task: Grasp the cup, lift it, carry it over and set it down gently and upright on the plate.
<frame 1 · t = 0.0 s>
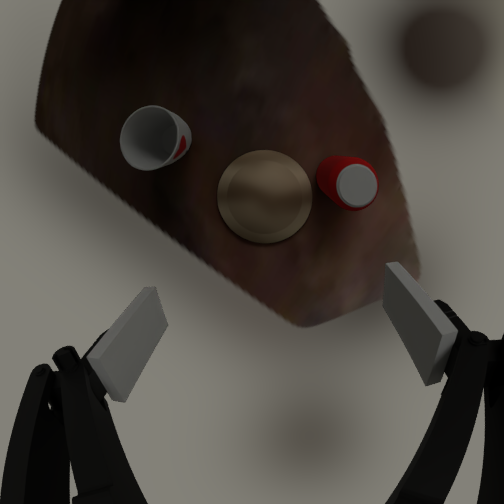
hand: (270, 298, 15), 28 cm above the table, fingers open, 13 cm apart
beverage can: (335, 176, 39), on the table
cup: (176, 139, 39), on the table
plate: (264, 196, 41), on the table
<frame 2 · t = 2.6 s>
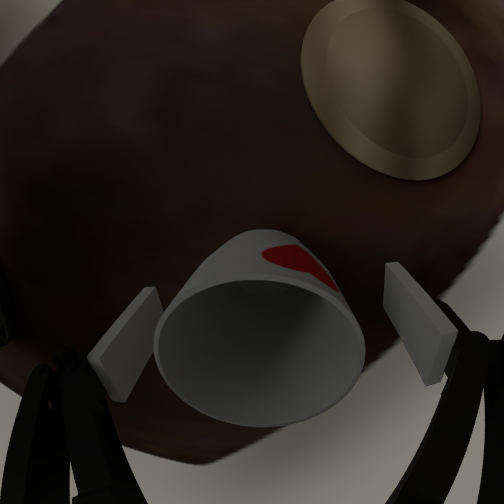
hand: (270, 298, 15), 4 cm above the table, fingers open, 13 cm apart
cup: (265, 264, 19), on the table
plate: (401, 79, 14), on the table
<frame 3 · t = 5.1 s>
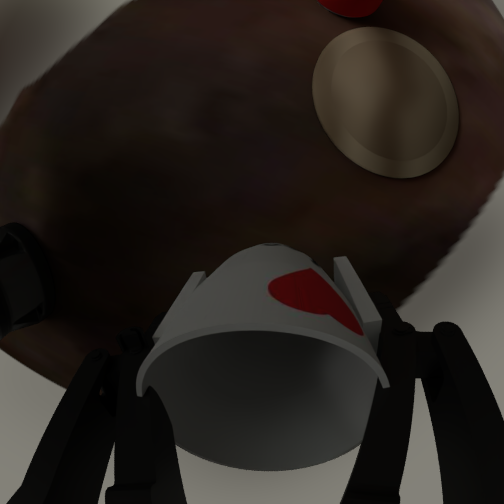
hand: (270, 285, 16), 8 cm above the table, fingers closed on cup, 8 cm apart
cup: (271, 281, 17), point 8 cm above the table, touching gripper
plate: (391, 99, 19), on the table
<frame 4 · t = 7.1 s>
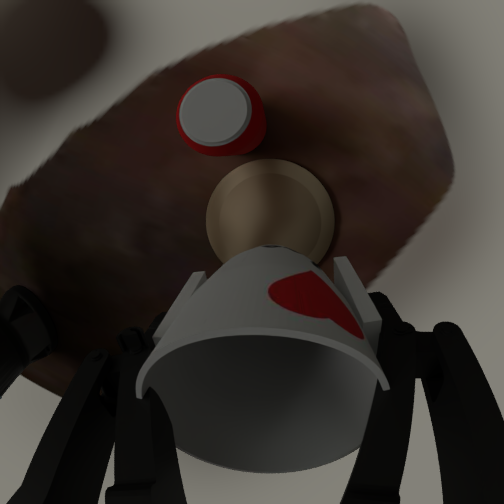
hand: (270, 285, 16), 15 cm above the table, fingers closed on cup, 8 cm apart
beverage can: (237, 127, 27), on the table
cup: (271, 283, 17), point 15 cm above the table, touching gripper
plate: (270, 222, 30), on the table
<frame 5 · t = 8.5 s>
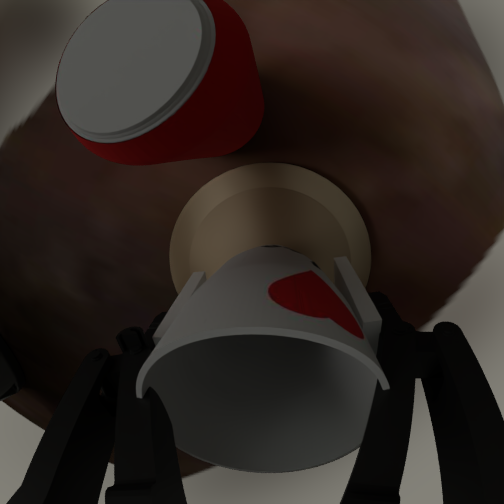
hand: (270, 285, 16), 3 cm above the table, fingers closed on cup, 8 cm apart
beverage can: (216, 111, 16), on the table
cup: (271, 283, 17), point 3 cm above the table, touching gripper
plate: (270, 265, 19), on the table
when the fingers open (1 cm above the table, at t = 9.6 s): cup stays where it is, resting on plate.
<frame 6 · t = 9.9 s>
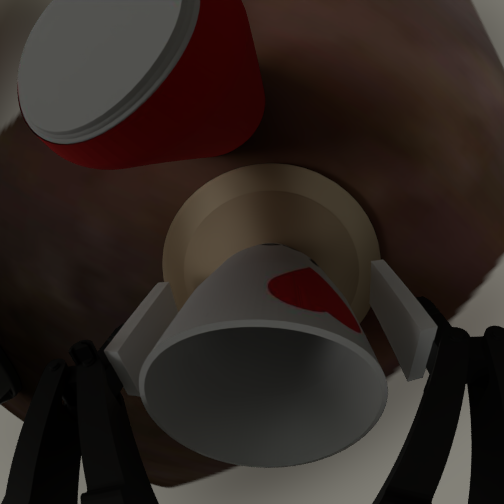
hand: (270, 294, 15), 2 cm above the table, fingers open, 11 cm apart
beverage can: (213, 107, 15), on the table
cup: (270, 281, 17), point 1 cm above the table, touching plate
plate: (271, 275, 18), on the table
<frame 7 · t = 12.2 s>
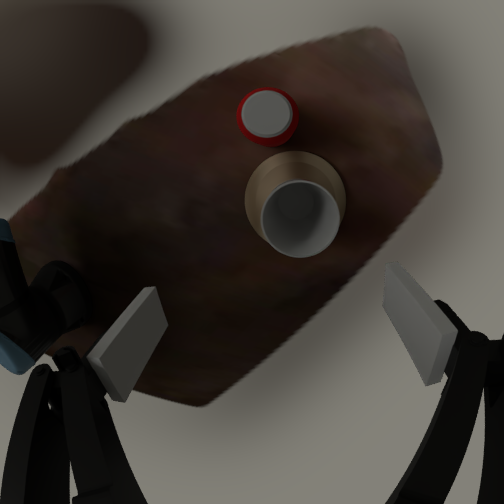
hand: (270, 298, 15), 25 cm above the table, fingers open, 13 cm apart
beverage can: (271, 125, 35), on the table
cup: (295, 202, 37), point 1 cm above the table, touching plate
plate: (295, 200, 38), on the table
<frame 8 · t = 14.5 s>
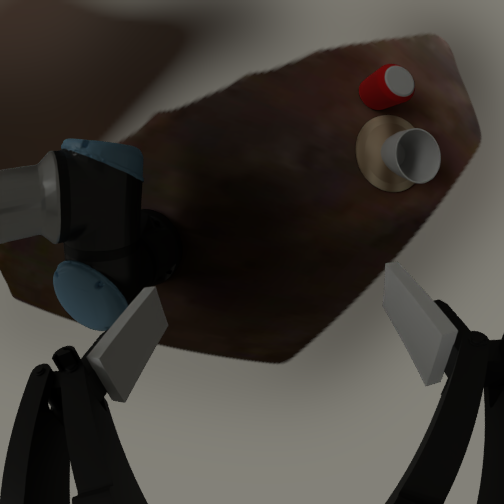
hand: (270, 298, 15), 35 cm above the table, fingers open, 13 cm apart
beverage can: (373, 95, 39), on the table
cup: (392, 153, 42), point 1 cm above the table, touching plate
plate: (391, 153, 42), on the table
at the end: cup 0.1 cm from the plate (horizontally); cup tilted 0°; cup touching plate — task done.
